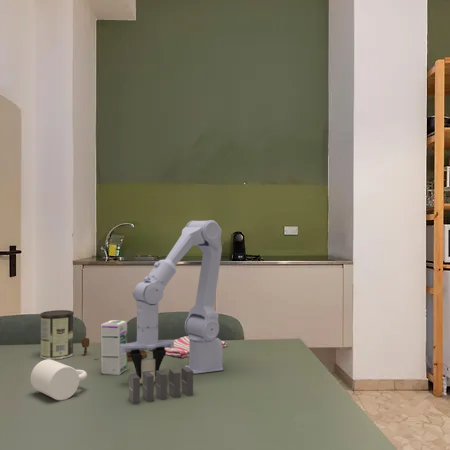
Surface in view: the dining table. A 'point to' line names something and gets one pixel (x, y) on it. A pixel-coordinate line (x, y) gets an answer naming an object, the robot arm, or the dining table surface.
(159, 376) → the domino
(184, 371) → the domino
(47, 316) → the coffee can
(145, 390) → the domino
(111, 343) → the syrup box
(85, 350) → the place setting
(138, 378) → the domino
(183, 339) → the dish towel
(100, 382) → the dining table surface
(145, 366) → the domino
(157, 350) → the robot arm
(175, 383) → the domino
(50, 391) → the mug
